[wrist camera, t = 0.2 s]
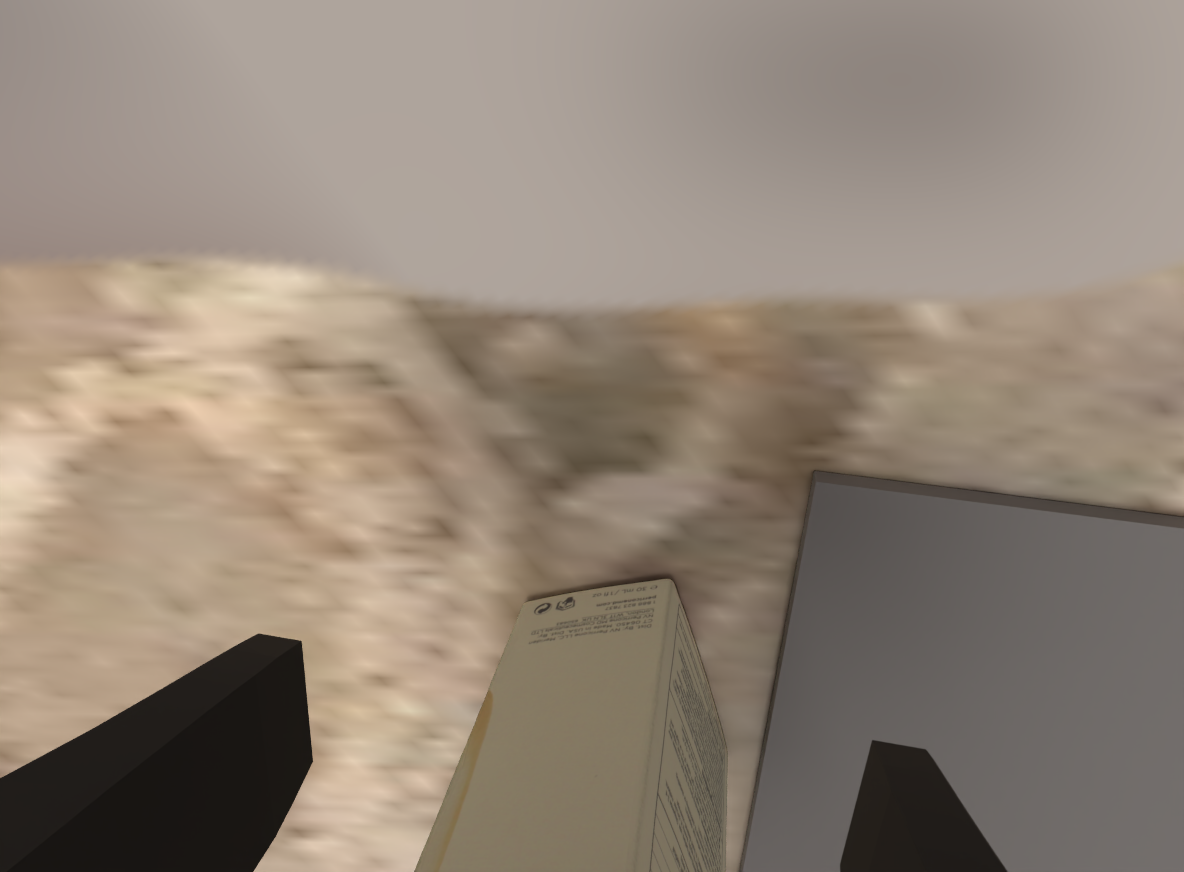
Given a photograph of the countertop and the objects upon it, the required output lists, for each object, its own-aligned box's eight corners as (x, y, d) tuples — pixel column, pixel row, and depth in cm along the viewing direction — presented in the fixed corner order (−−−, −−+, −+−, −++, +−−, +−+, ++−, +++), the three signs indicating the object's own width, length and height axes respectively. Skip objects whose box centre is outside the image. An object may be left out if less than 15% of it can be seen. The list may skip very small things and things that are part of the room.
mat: (1373, 1015, 22) (1389, 1038, 21) (736, 888, 24) (736, 907, 24) (1678, 579, 16) (1709, 596, 16) (813, 470, 19) (816, 481, 18)
